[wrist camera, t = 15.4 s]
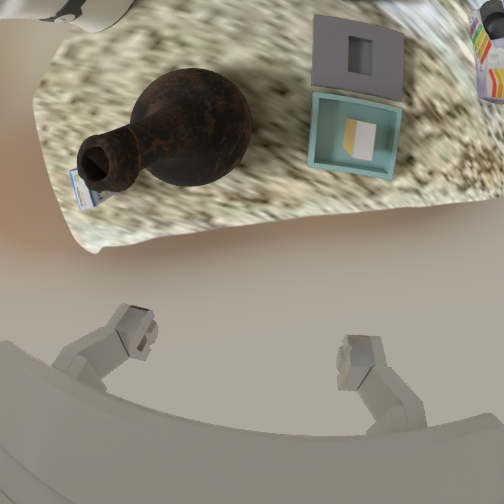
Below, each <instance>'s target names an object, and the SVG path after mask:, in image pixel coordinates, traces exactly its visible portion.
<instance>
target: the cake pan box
mask: <svg viewBox="0 0 504 504" xmlns="http://www.w3.org/2000/svg"><path fill="white" fill-rule="evenodd" d="M467 16H468V20H469V25H470V30H471V35H472V40H473V46H474V53H475V61H476V70H477V82H478V96H479V98H482V99H484V100H487V101H490V102H492V103H500V104H504V0H502V1H501V0H489V1H487V2H485V3H484V4H483V5H482V6H481V8H480V9H478V10H475V11H472V12H470V13H467Z"/></svg>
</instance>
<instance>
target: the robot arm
mask: <svg viewBox="0 0 504 504" xmlns="http://www.w3.org/2000/svg"><path fill="white" fill-rule="evenodd" d="M133 2H134V0H0V19H4V18H37V19H39V20H41V21H47V22H57V23H71V24H74V25H76V26H78V27H80V28H82V29H83V30H85V31H87V32H90V33H95V32H100V31H102V30H105V29H107V28H108V27H110V26H111V25H113V24H114V23H115V22H117V21H118V20H119V19H120V18H121V17H122V16H123V15H124V14H125V12H126V11H127V10H128V8H129V7H130V5H131V4H132V3H133ZM153 318H154V313H153V311H152V310H149V309H145V308H141V307H137V306H133V305H128V304H124V303H123V304H121V305H120V306H119V307H118V309H117V310H116V311H115V313H114V314H113V316H112V317H111V319H110V320H109V321H108V323H107V324H106V326H105V327H101V328H99V329H97V330H95V331H93V332H91V333H90V334H88V335H86V336H84V337H82V338H80V339H78V340H76V341H74V342H72V343H71V344H69V345H67V346H65V347H64V348H63V349H62V351H61V352H60V354H59V355H58V357H57V358H56V360H55V361H54V363H53V364H52V366H50V365H48V364H46V363H44V362H42V361H41V360H39V359H37V358H36V357H34V356H32V355H31V354H29V353H27V352H26V351H24V350H23V349H21V348H19V347H18V346H16V345H15V344H13V343H12V342H10V341H8V340H4V341H1V342H0V504H504V424H503V423H502V422H501V421H500V420H499V419H498V418H497V417H496V416H494V415H493V414H492V413H483V414H480V415H477V416H473V417H470V418H466V419H463V420H459V421H455V422H451V423H446V424H442V425H437V426H432V427H427V421H426V416H425V411H424V406H423V402H422V400H421V399H420V398H419V397H418V396H417V395H416V394H415V393H414V392H413V391H412V390H411V389H410V387H409V386H408V385H407V384H406V383H405V382H404V381H403V380H402V379H401V378H400V377H399V376H398V375H397V374H396V372H394V370H393V369H392V368H391V367H387V363H386V358H385V354H384V349H383V345H382V341H381V338H380V336H363V335H362V336H361V335H345V337H344V338H343V346H341V347H340V348H339V351H338V354H337V369H338V370H339V374H338V377H337V382H338V390H348V391H351V390H352V391H357V393H358V395H359V396H360V398H361V399H362V401H363V402H364V404H365V405H366V407H367V408H368V410H369V411H370V413H371V414H372V416H373V417H374V419H375V420H376V422H375V424H373V425H372V426H371V427H370V428H369V429H368V430H367V431H366V432H367V433H366V435H356V436H303V435H287V434H275V433H266V432H257V431H250V430H242V429H236V428H229V427H224V426H219V425H214V424H209V423H204V422H200V421H195V420H191V419H187V418H183V417H179V416H175V415H172V414H168V413H164V412H161V411H158V410H155V409H151V408H148V407H145V406H142V405H139V404H136V403H133V402H130V401H128V400H125V399H122V398H119V397H117V396H114V395H112V394H109V393H107V392H106V390H107V388H106V386H105V384H104V383H103V382H102V380H101V379H102V378H103V377H105V376H106V375H107V374H109V373H110V372H111V371H113V370H114V369H115V368H117V367H118V366H119V365H121V364H122V363H123V362H125V361H126V360H127V359H129V357H131V358H134V359H138V360H142V361H146V358H147V356H148V355H149V353H150V350H151V349H150V345H151V344H153V343H154V342H155V340H156V338H157V334H158V326H157V323H156V322H155V321H154V320H153Z"/></svg>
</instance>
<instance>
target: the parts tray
mask: <svg viewBox="0 0 504 504" xmlns="http://www.w3.org/2000/svg"><path fill="white" fill-rule="evenodd" d="M401 117H402V108H398V107H394V106H390V105H386V104H382V103H377V102H373V101H368V100H363V99H358V98H352V97H347V96H341V95H334V94H327V93H320V92H313V93H312V102H311V117H310V131H309V144H308V155H307V165H308V167H309V168H318V169H326V170H334V171H341V172H348V173H355V174H361V175H367V176H373V177H379V178H384V179H390V180H392V177H393V172H394V166H395V161H396V155H397V148H398V141H399V134H400V126H401ZM346 118H352V119H358V120H363V121H366V122H369V123H373V124H376V132H375V140H374V147H373V155H372V161H370V160H364V159H358V158H353V157H352V156H351V155H350V154H349V153H348V152H347V151H346V150H345V149H344V148H343V142H344V132H345V122H346Z"/></svg>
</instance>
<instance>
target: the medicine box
mask: <svg viewBox="0 0 504 504" xmlns="http://www.w3.org/2000/svg"><path fill="white" fill-rule="evenodd" d="M69 172H70V176H71V180H72V184H73V187H74V191H75V194H76V198H77V201H78V204H79V208H80V210H83V209H89V208H94V207H96V206H97V205H99V204H100V203H102V202H103V201H105V200H106V199H108V198H109V197H111V196H113V195H114V194H116V193H117V192H110V191H101V192H96V191H93V190H90V189H88V188H87V187H86V185H85V182H84V180H83V179H82V178H80V176H79V175H78V171H77V168H75V169H73V170H70V171H69Z"/></svg>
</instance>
